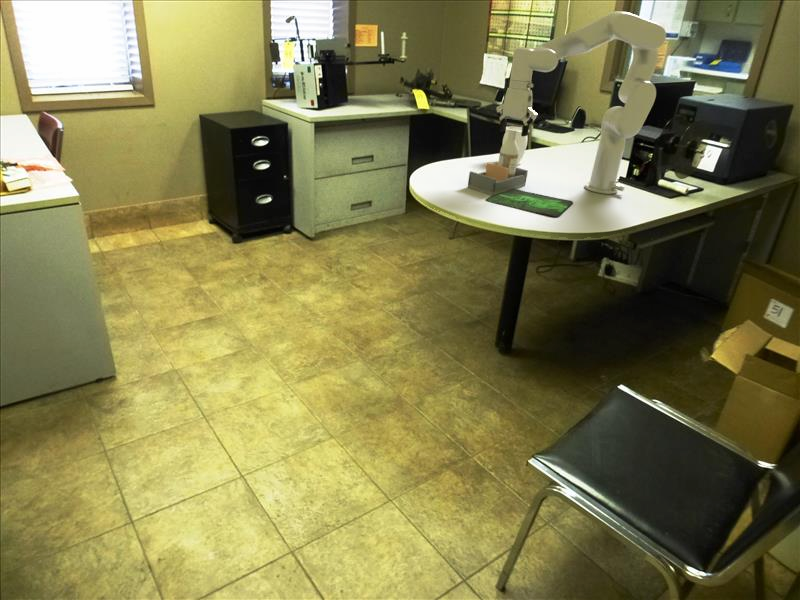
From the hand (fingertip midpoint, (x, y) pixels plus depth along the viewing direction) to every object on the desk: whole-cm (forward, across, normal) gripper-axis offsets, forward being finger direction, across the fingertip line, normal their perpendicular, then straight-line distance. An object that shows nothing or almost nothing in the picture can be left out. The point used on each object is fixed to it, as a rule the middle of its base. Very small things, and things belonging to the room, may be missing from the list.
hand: (513, 133), depth 214 cm
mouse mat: (+20, -17, +11) cm, 29 cm away
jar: (+20, +18, -31) cm, 41 cm away
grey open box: (+20, +1, +5) cm, 20 cm away
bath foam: (+19, +1, +1) cm, 19 cm away
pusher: (+18, +1, +9) cm, 20 cm away
